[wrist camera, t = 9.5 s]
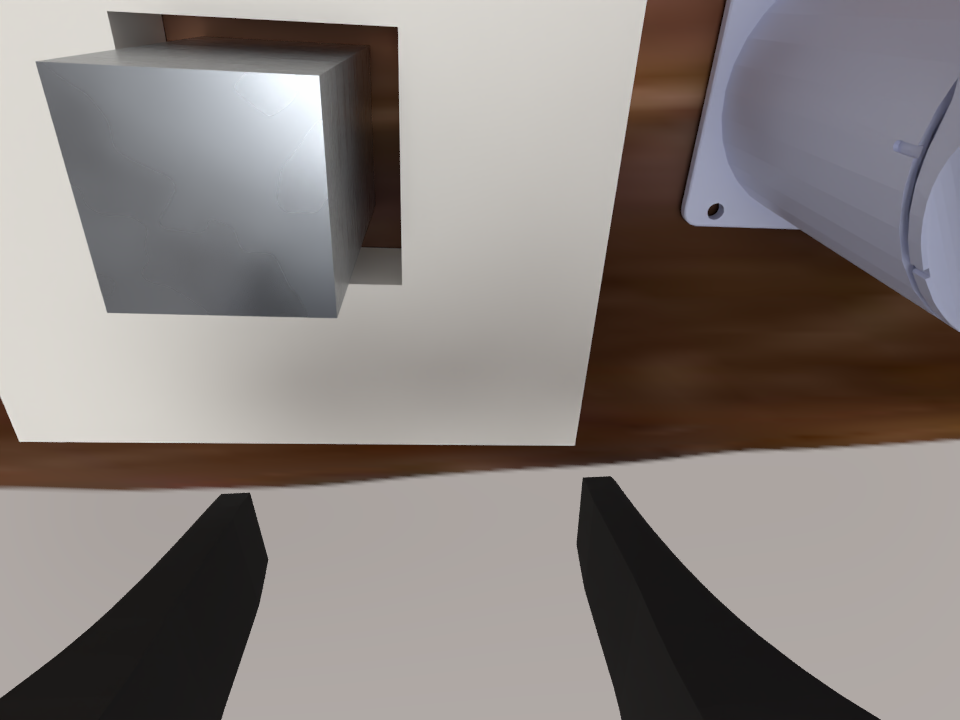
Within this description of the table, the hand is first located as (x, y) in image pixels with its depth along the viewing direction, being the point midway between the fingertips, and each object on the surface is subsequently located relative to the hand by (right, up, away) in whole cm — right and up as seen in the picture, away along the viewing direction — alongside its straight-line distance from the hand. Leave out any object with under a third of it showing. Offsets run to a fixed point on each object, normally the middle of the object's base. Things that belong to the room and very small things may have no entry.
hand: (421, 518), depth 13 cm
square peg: (-4, +10, +5) cm, 12 cm away
